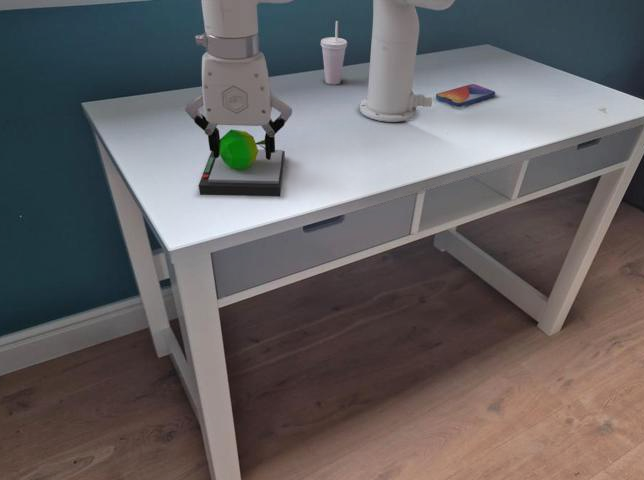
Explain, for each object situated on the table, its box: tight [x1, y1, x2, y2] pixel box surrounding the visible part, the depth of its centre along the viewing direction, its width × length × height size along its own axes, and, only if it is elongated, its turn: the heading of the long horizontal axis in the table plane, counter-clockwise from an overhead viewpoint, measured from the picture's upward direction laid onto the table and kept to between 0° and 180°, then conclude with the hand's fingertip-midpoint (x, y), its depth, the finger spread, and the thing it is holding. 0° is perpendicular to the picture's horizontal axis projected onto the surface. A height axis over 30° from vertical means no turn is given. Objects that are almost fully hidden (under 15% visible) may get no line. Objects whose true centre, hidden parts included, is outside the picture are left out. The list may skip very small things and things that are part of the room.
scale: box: [198, 148, 286, 198], centre depth 86 cm, size 13×13×2 cm
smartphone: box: [435, 83, 496, 108], centre depth 120 cm, size 7×15×1 cm, turn 131°
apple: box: [219, 129, 265, 169], centre depth 83 cm, size 7×6×9 cm
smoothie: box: [319, 20, 348, 85], centre depth 120 cm, size 6×6×14 cm
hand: (243, 154), depth 84 cm, fingers closed on apple, 8 cm apart
